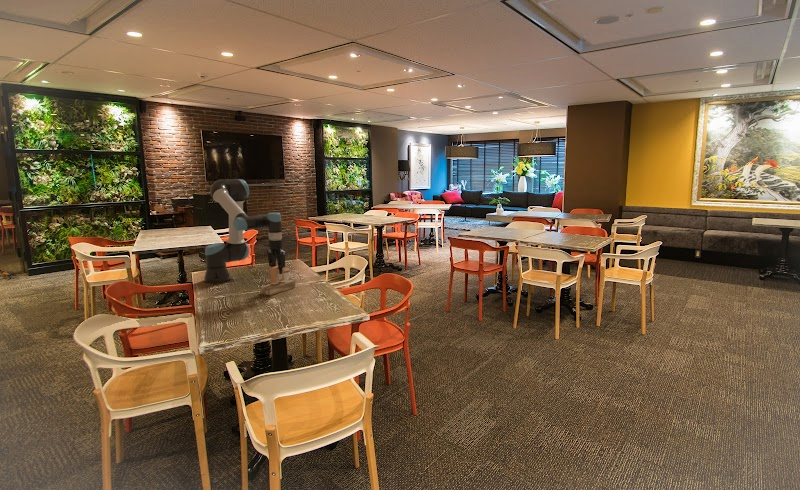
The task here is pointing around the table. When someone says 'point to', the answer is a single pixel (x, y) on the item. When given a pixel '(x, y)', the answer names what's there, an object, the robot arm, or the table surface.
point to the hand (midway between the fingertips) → (277, 278)
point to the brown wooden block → (277, 287)
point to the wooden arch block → (273, 274)
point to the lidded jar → (285, 274)
